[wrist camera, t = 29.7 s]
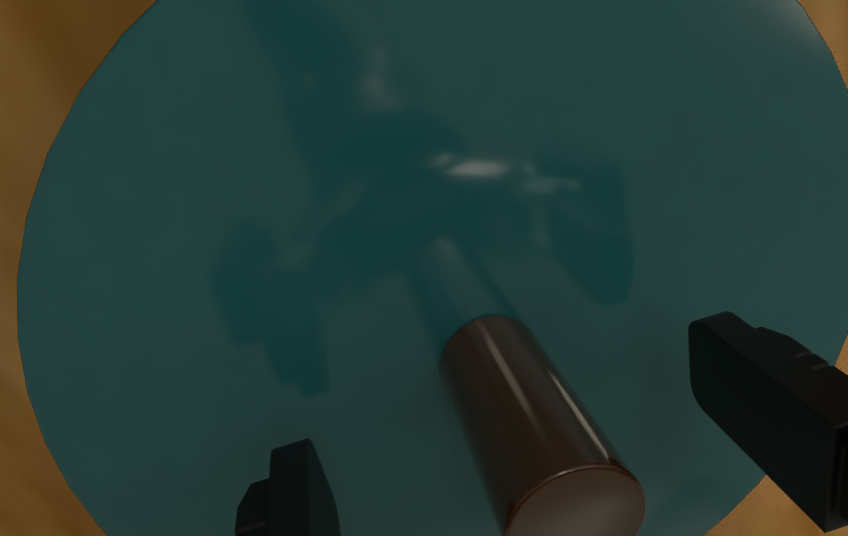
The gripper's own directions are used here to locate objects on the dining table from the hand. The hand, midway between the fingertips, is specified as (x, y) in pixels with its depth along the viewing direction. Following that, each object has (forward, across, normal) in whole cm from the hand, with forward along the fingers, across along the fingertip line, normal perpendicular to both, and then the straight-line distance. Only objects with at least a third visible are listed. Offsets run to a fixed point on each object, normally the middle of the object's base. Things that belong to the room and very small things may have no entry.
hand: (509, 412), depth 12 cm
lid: (+3, 0, 0) cm, 3 cm away
